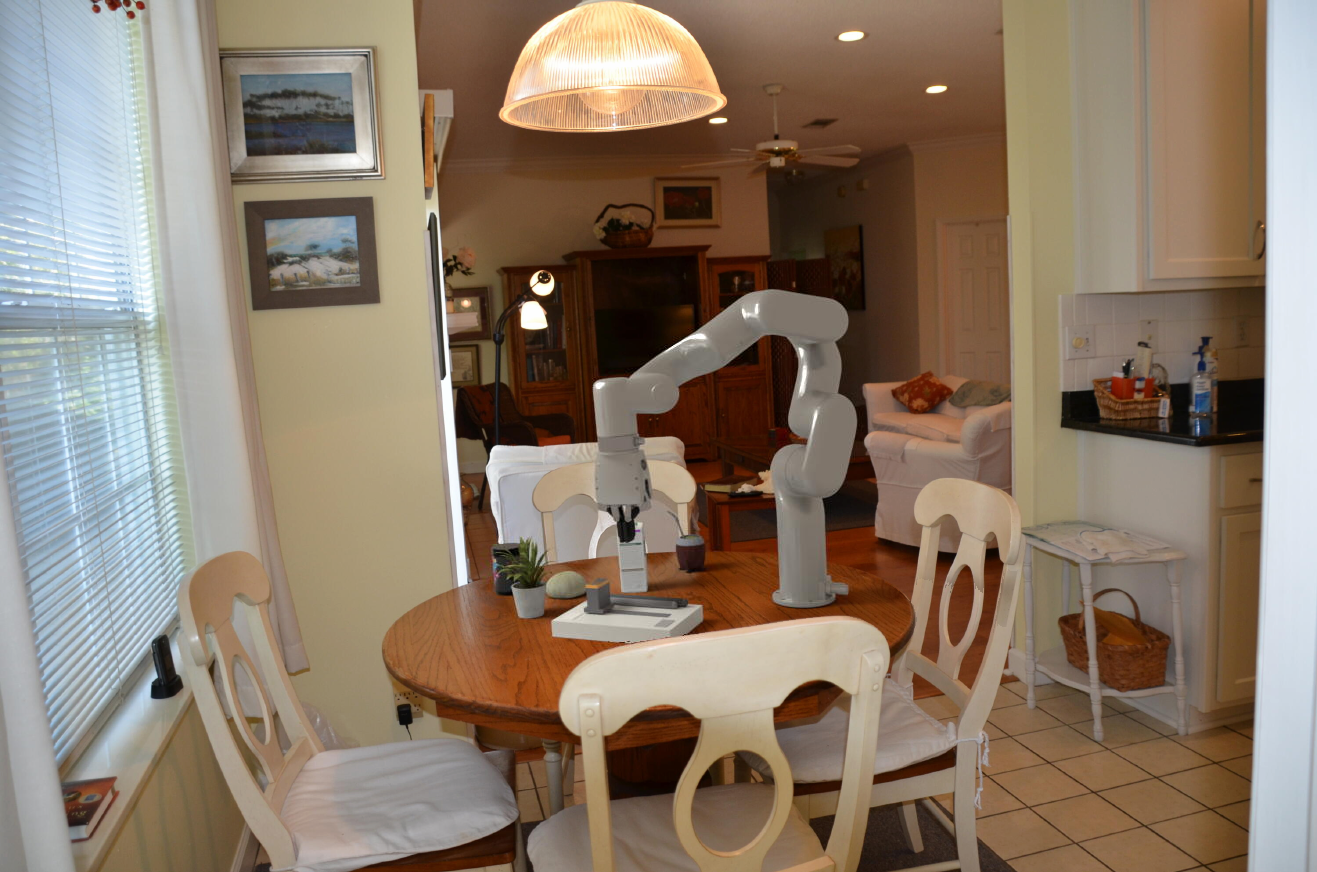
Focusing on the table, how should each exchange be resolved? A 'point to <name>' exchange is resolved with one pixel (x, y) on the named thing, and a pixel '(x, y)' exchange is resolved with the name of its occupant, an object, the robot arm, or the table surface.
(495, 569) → the supplement container
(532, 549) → the house plant
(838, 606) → the table surface
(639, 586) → the syrup box
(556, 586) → the sea urchin shell
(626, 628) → the base
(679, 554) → the mate gourd
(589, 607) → the handle
